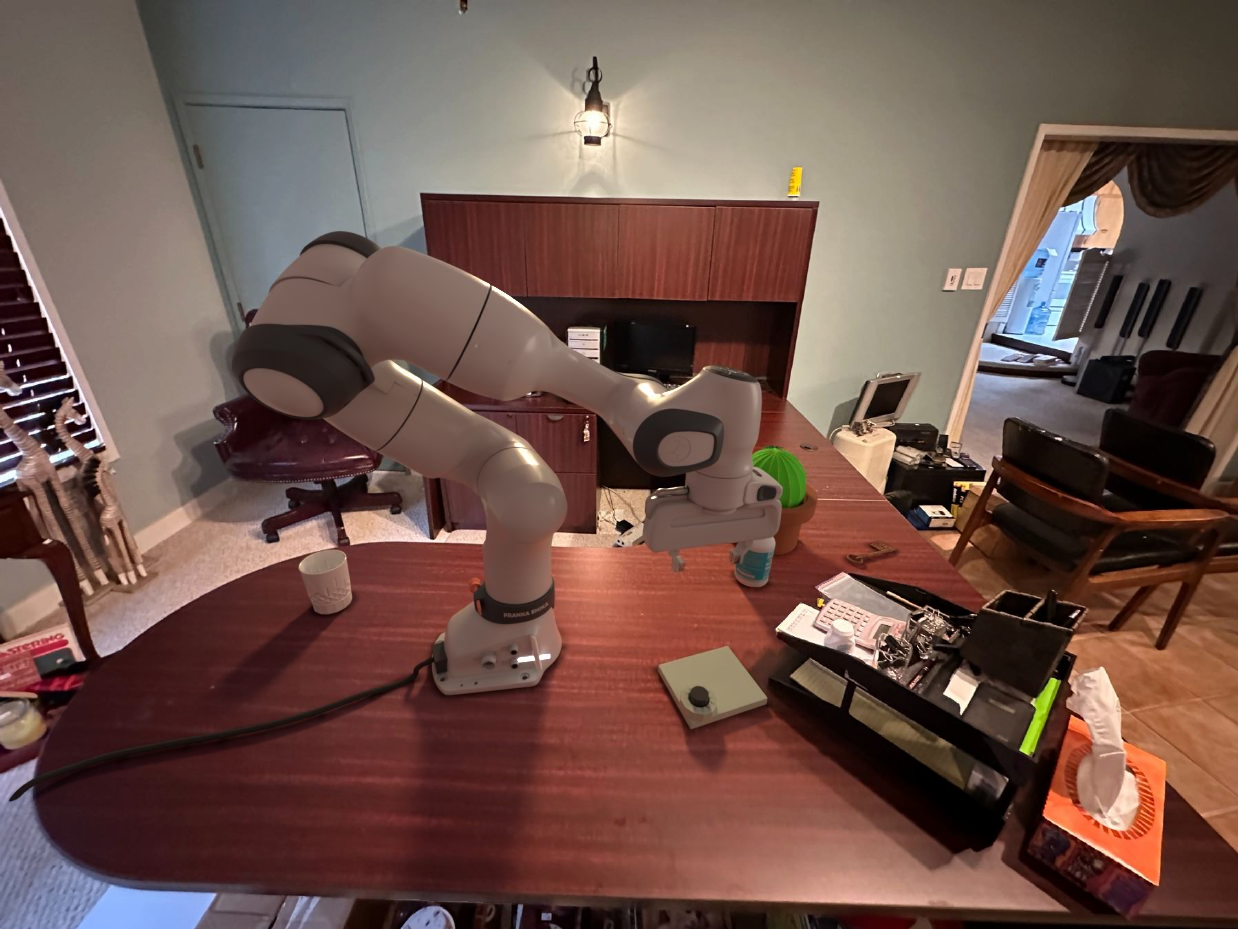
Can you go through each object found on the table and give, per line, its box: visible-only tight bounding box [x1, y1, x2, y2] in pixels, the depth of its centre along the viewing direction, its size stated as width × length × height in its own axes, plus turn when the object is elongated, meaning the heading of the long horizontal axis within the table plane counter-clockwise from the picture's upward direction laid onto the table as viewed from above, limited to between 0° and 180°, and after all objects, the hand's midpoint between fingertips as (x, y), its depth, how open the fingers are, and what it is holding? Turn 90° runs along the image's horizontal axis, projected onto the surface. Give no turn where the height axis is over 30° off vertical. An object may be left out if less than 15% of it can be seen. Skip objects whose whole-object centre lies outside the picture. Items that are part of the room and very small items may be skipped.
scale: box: [657, 645, 768, 730], centre depth 82 cm, size 14×12×3 cm
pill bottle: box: [733, 537, 775, 588], centre depth 108 cm, size 8×7×14 cm
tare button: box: [690, 686, 709, 708], centre depth 77 cm, size 3×3×2 cm
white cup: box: [298, 549, 353, 615], centre depth 96 cm, size 8×8×10 cm
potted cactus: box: [734, 444, 819, 556], centre depth 121 cm, size 22×22×25 cm
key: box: [846, 541, 897, 565], centre depth 121 cm, size 6×1×15 cm
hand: (706, 565), depth 74 cm, fingers open, 8 cm apart
